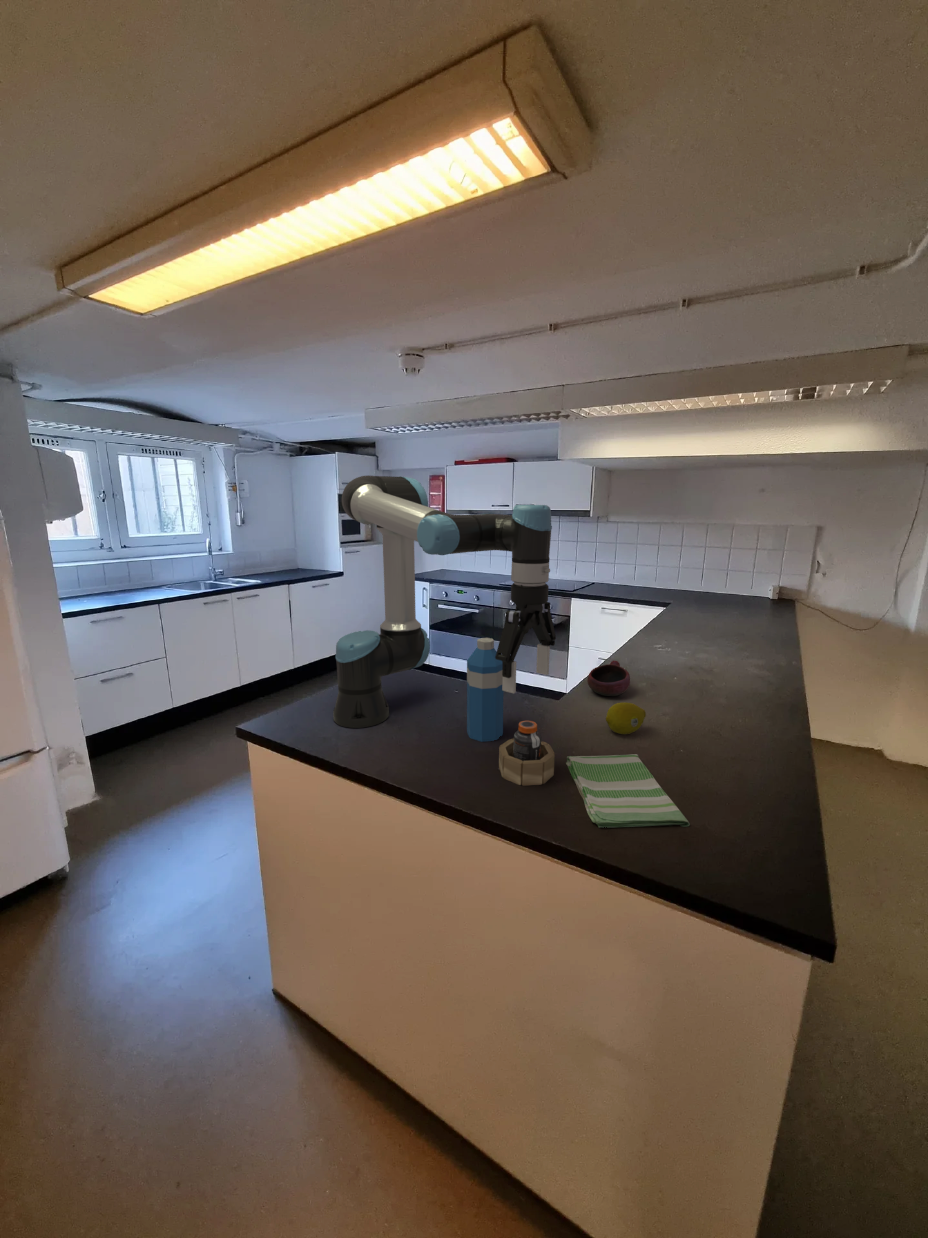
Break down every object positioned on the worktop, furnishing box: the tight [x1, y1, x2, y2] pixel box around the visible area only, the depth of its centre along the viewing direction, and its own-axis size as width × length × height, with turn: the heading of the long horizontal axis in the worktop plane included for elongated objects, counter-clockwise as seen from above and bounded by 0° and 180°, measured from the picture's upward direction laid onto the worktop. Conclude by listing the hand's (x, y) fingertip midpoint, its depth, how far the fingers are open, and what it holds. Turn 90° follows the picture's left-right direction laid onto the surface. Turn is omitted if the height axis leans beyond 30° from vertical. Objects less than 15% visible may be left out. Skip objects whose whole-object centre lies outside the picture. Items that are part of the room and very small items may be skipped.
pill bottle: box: [513, 720, 542, 761], centre depth 106 cm, size 6×6×11 cm
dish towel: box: [565, 753, 691, 829], centre depth 100 cm, size 18×23×3 cm
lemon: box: [605, 701, 647, 735], centre depth 125 cm, size 11×8×8 cm
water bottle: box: [466, 637, 505, 743], centre depth 122 cm, size 9×9×25 cm
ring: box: [498, 738, 556, 787], centre depth 107 cm, size 11×11×5 cm
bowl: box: [586, 660, 631, 697], centre depth 152 cm, size 16×13×8 cm
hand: (526, 682), depth 103 cm, fingers open, 13 cm apart
